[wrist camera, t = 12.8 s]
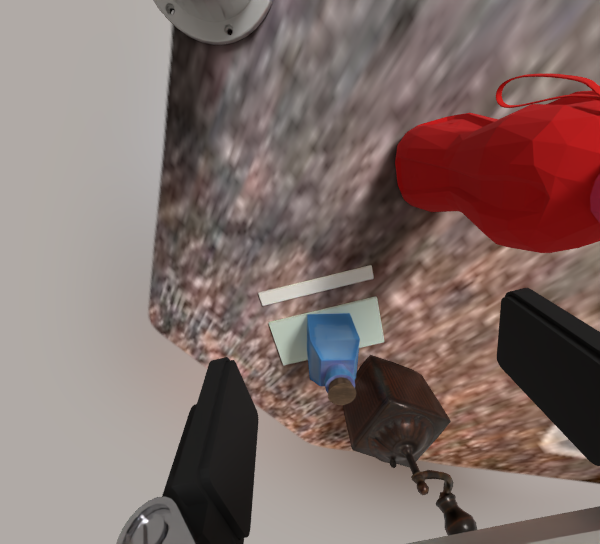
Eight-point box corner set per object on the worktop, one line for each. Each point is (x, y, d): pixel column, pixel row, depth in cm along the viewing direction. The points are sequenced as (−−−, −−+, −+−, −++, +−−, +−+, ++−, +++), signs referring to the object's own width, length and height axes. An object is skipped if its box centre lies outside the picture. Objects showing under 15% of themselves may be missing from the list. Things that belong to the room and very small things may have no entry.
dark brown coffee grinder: (336, 401, 49) (362, 528, 33) (369, 352, 46) (417, 468, 29) (411, 425, 53) (468, 553, 36) (448, 382, 49) (531, 502, 32)
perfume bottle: (349, 313, 42) (372, 371, 31) (347, 348, 45) (367, 413, 34) (307, 314, 42) (314, 373, 31) (306, 349, 44) (313, 415, 33)
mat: (268, 322, 43) (268, 323, 42) (376, 296, 42) (377, 297, 41) (283, 363, 46) (283, 365, 45) (383, 340, 45) (384, 342, 44)
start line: (258, 292, 41) (258, 293, 40) (371, 264, 40) (371, 265, 39) (262, 304, 41) (262, 305, 41) (373, 277, 41) (373, 278, 40)
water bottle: (467, 92, 32) (924, -46, 9) (470, 191, 36) (785, 265, 13) (385, 116, 33) (622, 41, 10) (397, 210, 37) (581, 313, 14)
